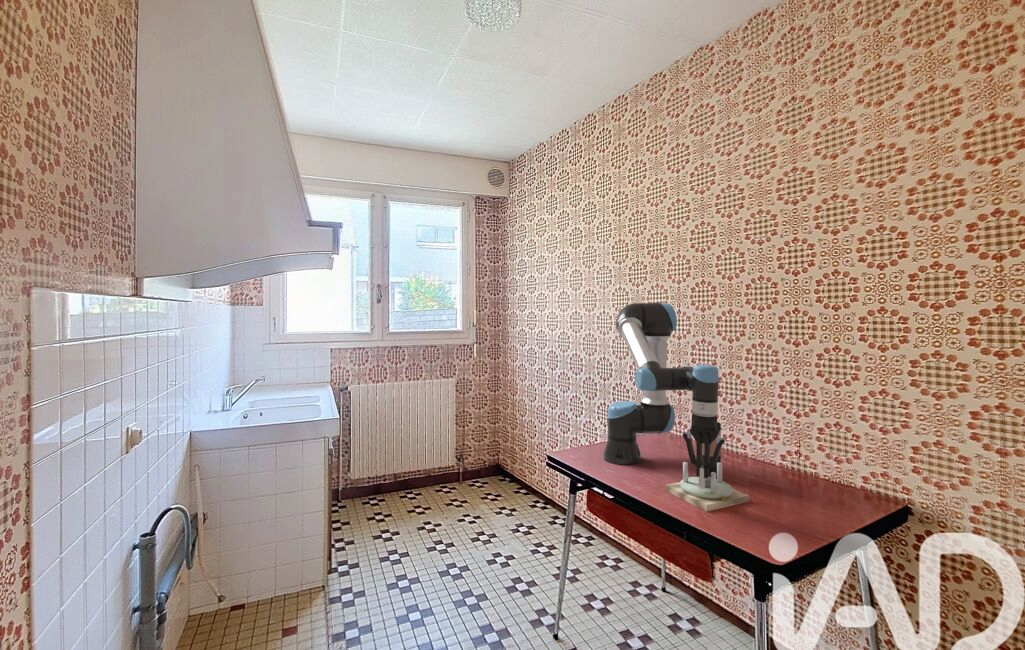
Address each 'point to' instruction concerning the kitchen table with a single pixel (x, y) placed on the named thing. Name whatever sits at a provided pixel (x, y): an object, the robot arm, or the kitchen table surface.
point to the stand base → (707, 503)
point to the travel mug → (712, 449)
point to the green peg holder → (706, 484)
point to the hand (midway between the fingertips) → (702, 487)
